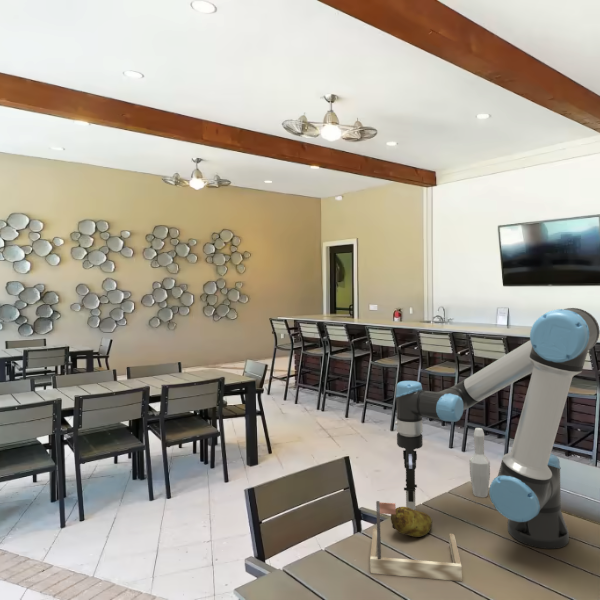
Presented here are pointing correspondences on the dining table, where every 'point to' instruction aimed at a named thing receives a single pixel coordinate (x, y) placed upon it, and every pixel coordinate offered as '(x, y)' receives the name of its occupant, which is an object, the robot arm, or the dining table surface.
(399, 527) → the potato
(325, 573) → the dining table surface
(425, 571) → the wooden tray with flag
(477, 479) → the low poly bottle
